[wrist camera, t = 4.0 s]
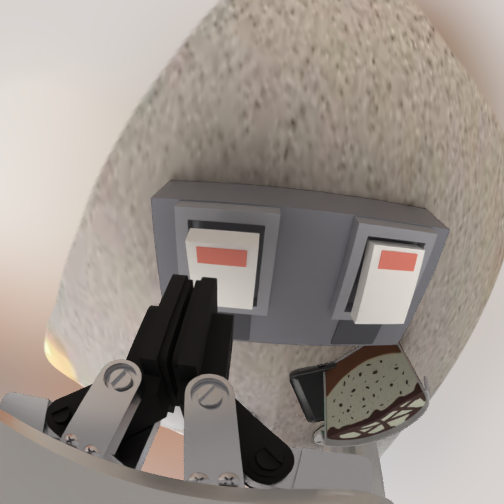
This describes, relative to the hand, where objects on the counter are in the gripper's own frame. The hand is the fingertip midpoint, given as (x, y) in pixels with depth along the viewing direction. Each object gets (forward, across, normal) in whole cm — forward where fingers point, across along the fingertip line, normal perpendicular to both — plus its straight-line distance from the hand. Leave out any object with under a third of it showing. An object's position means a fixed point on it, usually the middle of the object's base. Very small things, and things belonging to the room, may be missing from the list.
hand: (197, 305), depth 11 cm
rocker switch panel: (+12, -6, +5) cm, 14 cm away
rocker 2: (+6, -11, +3) cm, 13 cm away
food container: (+12, -17, +18) cm, 27 cm away
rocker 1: (+6, 0, +3) cm, 7 cm away
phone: (+12, -14, +26) cm, 32 cm away
